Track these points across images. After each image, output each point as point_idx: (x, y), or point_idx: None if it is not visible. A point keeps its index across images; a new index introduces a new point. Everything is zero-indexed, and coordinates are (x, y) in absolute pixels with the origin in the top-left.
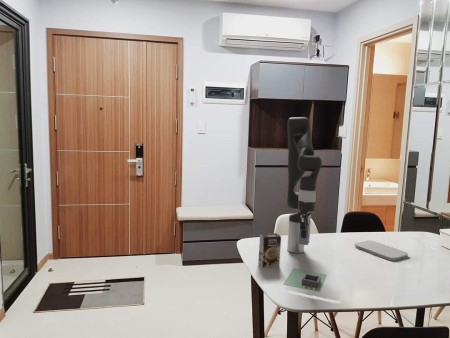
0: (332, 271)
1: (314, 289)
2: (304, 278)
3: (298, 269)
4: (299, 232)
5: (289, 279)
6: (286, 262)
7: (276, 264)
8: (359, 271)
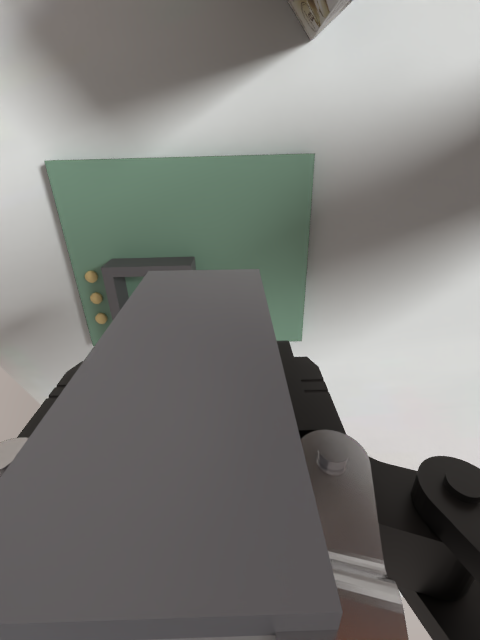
0: (373, 348)
1: (99, 322)
2: (121, 276)
3: (305, 192)
4: (91, 350)
5: (131, 179)
6: (435, 65)
7: (301, 5)
8: (411, 435)
